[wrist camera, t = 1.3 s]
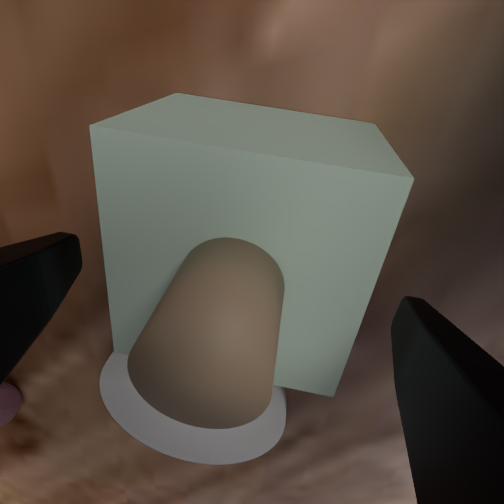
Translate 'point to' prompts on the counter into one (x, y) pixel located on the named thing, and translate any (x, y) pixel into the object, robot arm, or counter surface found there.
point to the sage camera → (240, 248)
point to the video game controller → (8, 402)
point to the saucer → (186, 436)
